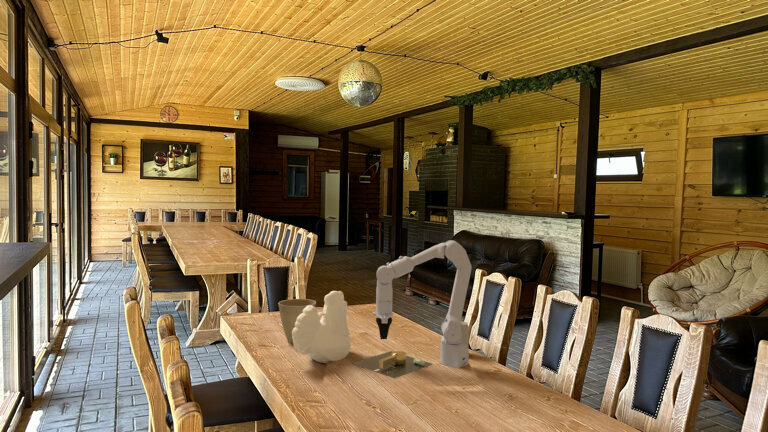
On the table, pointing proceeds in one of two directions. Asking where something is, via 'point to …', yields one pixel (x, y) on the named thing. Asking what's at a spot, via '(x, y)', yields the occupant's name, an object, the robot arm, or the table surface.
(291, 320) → the plant pot
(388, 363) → the brass door handle
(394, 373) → the base plate
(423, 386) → the table surface
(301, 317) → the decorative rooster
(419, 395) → the table surface
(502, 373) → the table surface
